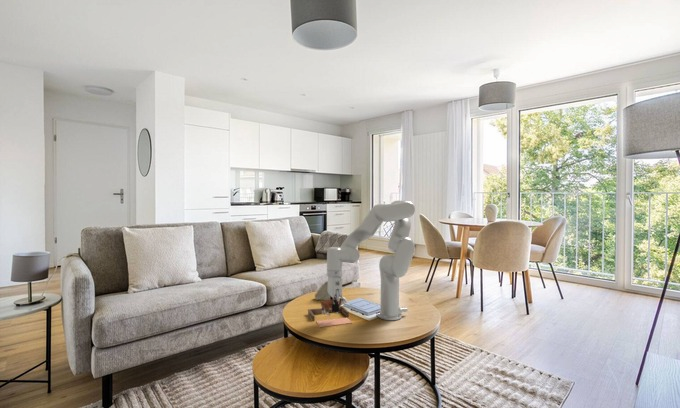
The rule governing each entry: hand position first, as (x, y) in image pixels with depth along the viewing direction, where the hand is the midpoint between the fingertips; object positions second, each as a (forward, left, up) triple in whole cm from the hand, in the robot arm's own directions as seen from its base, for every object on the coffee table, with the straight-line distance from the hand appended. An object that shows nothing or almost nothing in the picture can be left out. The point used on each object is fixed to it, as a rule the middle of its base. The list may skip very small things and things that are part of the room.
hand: (333, 309), depth 156 cm
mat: (0, 0, -6) cm, 6 cm away
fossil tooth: (-7, -36, -7) cm, 37 cm away
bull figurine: (0, 0, -2) cm, 2 cm away
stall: (0, -9, -6) cm, 11 cm away
